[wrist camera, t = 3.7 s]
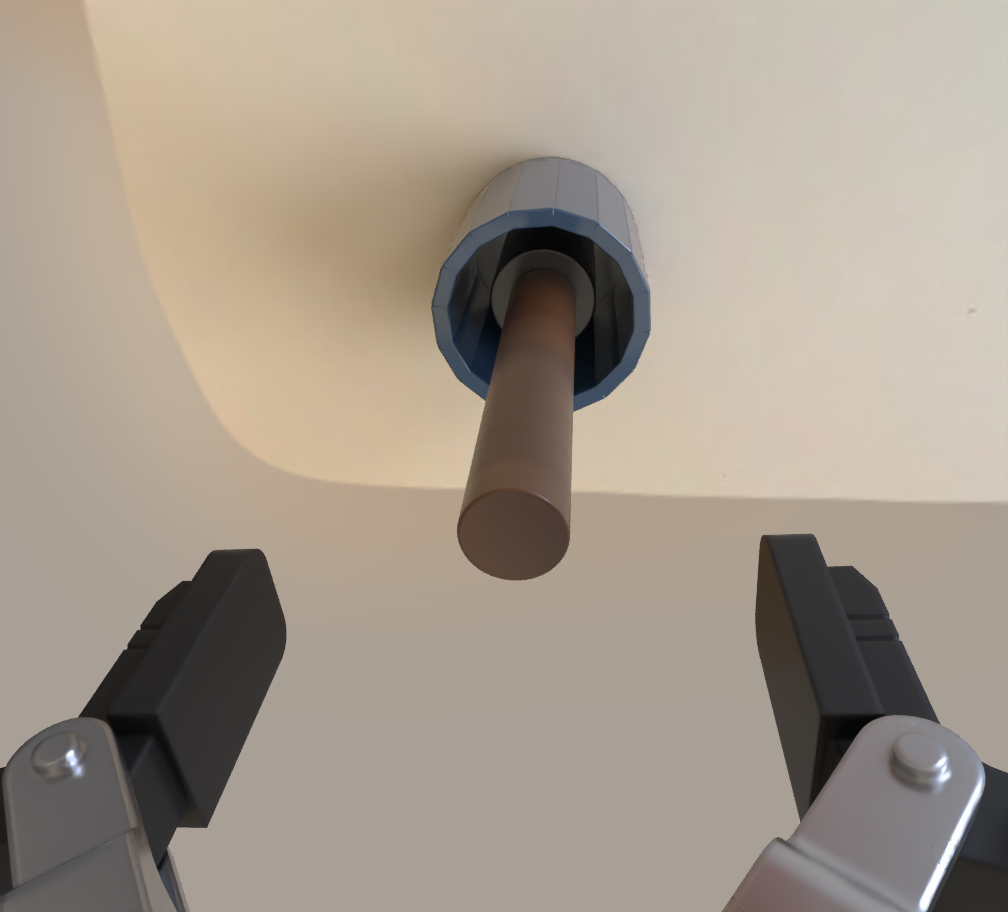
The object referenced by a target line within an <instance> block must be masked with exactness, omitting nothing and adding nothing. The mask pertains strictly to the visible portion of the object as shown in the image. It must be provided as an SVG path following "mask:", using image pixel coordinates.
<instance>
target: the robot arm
mask: <svg viewBox="0 0 1008 912" xmlns="http://www.w3.org/2000/svg"><path fill="white" fill-rule="evenodd" d="M755 623H756V637H757V645H758V651H759V655H760V659H761V663H762V667H763V671H764V675H765V680H766V683H767V688H768V691H769V696H770V700H771V704H772V708H773V712H774V716H775V720H776V724H777V728H778V732H779V736H780V741H781V744H782V749H783V752H784V757H785V761H786V765H787V769H788V773H789V776H790V781H791V785H792V789H793V793H794V797H795V801H796V806H797V810H798V814H799V818H800V824H799V826H798V827H797V829H796V830H795V832H794V833H793V835H792V836H791V837H790V838H789V839H788V840H787V841H785V840H783V839H782V838H779V837H777V838H775V839H774V840H772V841H771V842H770V843H769V844H768V845H767V846H766V847H765V849H764V850H763V851H762V853H761V854H760V855H759V857H758V859H757V860H756V861H755V863H754V864H753V866H752V867H751V869H750V870H749V872H748V873H747V875H746V876H745V878H744V879H743V881H742V882H741V884H740V885H739V887H738V888H737V890H736V891H735V893H734V894H733V896H732V897H731V899H730V900H729V902H728V903H727V905H726V906H725V908H724V909H723V911H722V912H1008V773H1006V772H1003V771H1001V770H998V769H996V768H993V767H991V766H989V765H987V764H985V763H983V762H981V761H980V758H979V757H978V755H977V754H976V752H975V751H974V750H973V749H972V748H971V746H970V745H969V744H968V743H967V742H966V741H965V740H963V739H962V738H961V737H960V736H959V735H957V734H956V733H954V732H953V731H951V730H950V729H948V728H946V727H944V726H942V725H941V724H940V723H939V721H938V719H937V717H936V715H935V712H934V710H933V708H932V706H931V704H930V702H929V700H928V697H927V695H926V693H925V691H924V689H923V686H922V684H921V682H920V680H919V678H918V676H917V673H916V671H915V669H914V667H913V665H912V662H911V660H910V658H909V656H908V654H907V652H906V650H905V647H904V645H903V643H902V641H899V634H898V632H897V630H896V628H895V626H894V624H893V621H892V620H891V619H890V618H889V613H888V610H887V608H886V607H885V604H884V602H883V600H882V597H881V595H880V593H879V591H878V589H877V588H876V587H875V586H874V585H873V584H872V583H871V582H870V581H868V580H867V579H866V578H865V577H864V576H863V575H862V574H860V573H859V572H858V571H857V570H856V569H855V568H854V567H853V566H835V567H827V565H826V563H825V560H824V557H823V555H822V553H821V550H820V547H819V545H818V542H817V540H816V538H815V536H814V535H813V534H788V535H786V534H785V535H763V536H762V537H761V542H760V550H759V565H758V581H757V597H756V612H755ZM285 645H286V623H285V618H284V615H283V611H282V608H281V605H280V602H279V598H278V595H277V592H276V589H275V585H274V582H273V579H272V576H271V573H270V569H269V566H268V563H267V560H266V557H265V555H264V553H263V552H262V551H261V550H260V549H233V550H214V551H212V552H211V553H210V554H209V555H208V556H207V558H206V559H205V561H204V563H203V564H202V565H201V567H200V568H199V570H198V572H197V573H196V575H195V576H194V578H193V579H192V581H182V582H181V583H180V584H178V585H177V586H176V587H174V588H173V589H172V590H171V591H169V592H168V593H167V594H166V595H165V596H163V597H162V598H161V599H160V600H158V601H157V602H156V604H155V605H154V606H153V608H152V609H151V611H150V612H149V614H148V615H147V617H146V618H145V620H144V621H143V623H142V624H141V629H140V630H137V631H136V633H135V634H134V636H133V637H132V639H131V640H130V642H129V643H128V648H127V650H123V652H122V654H121V655H120V656H119V658H118V660H117V661H116V662H115V664H114V665H113V667H112V668H111V670H110V671H109V673H108V674H107V675H106V677H105V678H104V680H103V681H102V683H101V684H100V686H99V687H98V689H97V690H96V692H95V693H94V695H93V697H92V698H91V699H90V701H89V702H88V704H87V705H86V707H85V708H84V709H83V711H82V712H81V714H80V715H79V717H78V718H73V719H69V720H65V721H62V722H59V723H57V724H54V725H52V726H50V727H48V728H46V729H44V730H42V731H41V732H39V733H37V734H36V735H34V736H33V737H32V738H30V739H29V740H28V741H26V742H25V743H24V744H23V745H22V746H21V747H20V748H19V749H18V750H17V751H16V752H15V753H14V755H13V756H12V757H11V759H10V760H9V762H8V763H7V766H6V767H3V768H0V912H190V911H189V908H188V904H187V901H186V898H185V894H184V891H183V888H182V885H181V881H180V878H179V875H178V871H177V868H176V865H175V861H174V859H173V856H172V853H171V851H170V850H169V847H168V845H169V843H170V841H171V839H172V837H173V834H174V832H175V830H176V828H177V827H189V828H207V826H208V824H209V822H210V819H211V817H212V815H213V813H214V811H215V808H216V806H217V804H218V802H219V799H220V797H221V795H222V793H223V790H224V788H225V786H226V783H227V781H228V779H229V777H230V775H231V772H232V770H233V768H234V766H235V763H236V761H237V759H238V757H239V754H240V752H241V749H242V747H243V745H244V743H245V741H246V739H247V736H248V734H249V731H250V729H251V727H252V725H253V722H254V720H255V718H256V716H257V714H258V711H259V709H260V707H261V705H262V702H263V700H264V698H265V696H266V693H267V691H268V689H269V686H270V684H271V682H272V680H273V678H274V675H275V673H276V671H277V669H278V666H279V664H280V662H281V660H282V657H283V654H284V650H285Z"/></svg>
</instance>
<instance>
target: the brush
mask: <svg viewBox="0 0 1008 912" xmlns="http://www.w3.org/2000/svg"><path fill="white" fill-rule="evenodd" d="M490 305H491V310H492V313H493V316H494V318H495V321H496V323H497V324H498V326H499V327H500V329H501V330H502V332H501V337H500V341H499V345H498V350H497V354H496V358H495V363H494V367H493V372H492V376H491V380H490V385H489V389H488V394H487V398H486V402H485V407H484V411H483V415H482V420H481V424H480V429H479V433H478V437H477V442H476V446H475V451H474V455H473V459H472V464H471V468H470V473H469V477H468V481H467V486H466V490H465V494H464V499H463V504H462V508H461V512H460V517H459V521H458V526H457V537H458V541H459V544H460V546H461V549H462V551H463V553H464V554H465V556H466V557H467V558H468V560H469V561H470V562H471V563H472V564H473V565H474V566H476V567H477V568H478V569H480V570H481V571H483V572H485V573H487V574H489V575H491V576H494V577H497V578H501V579H506V580H527V579H532V578H535V577H538V576H541V575H543V574H545V573H547V572H549V571H550V570H551V569H553V568H554V567H555V566H556V565H557V564H558V563H559V562H560V561H561V560H562V558H563V557H564V555H565V553H566V551H567V549H568V546H569V540H570V509H571V508H570V507H571V472H572V434H573V397H574V359H575V339H576V338H577V337H579V336H580V335H581V334H582V333H583V332H584V330H585V329H586V328H587V327H588V325H589V323H590V322H591V319H592V317H593V315H594V311H595V306H596V277H595V249H594V242H592V241H591V240H590V239H589V238H587V237H584V236H581V235H577V234H574V233H571V232H568V231H565V230H562V229H559V228H556V227H553V226H548V227H536V228H523V229H514V230H512V231H510V232H508V233H507V236H506V238H505V241H504V245H503V248H502V252H501V255H500V259H499V262H498V265H497V269H496V272H495V276H494V279H493V283H492V286H491V291H490Z"/></svg>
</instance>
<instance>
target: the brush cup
mask: <svg viewBox="0 0 1008 912" xmlns="http://www.w3.org/2000/svg"><path fill="white" fill-rule="evenodd" d="M548 226H553V227H556V228H559V229H562V230H565V231H568V232H571V233H574V234H577V235H581V236H584V237H587V238H589V239H590V240H591V241H592V242H594V249H595V277H596V306H595V311H594V315H593V317H592V319H591V322H590V323H589V325H588V327H587V328H586V329H585V330H584V332H583V333H582V334H581V335H580V336H579V337H577V338H576V339H575V359H574V397H573V412H574V411H576V410H579V409H581V408H583V407H586V406H588V405H590V404H593V403H595V402H597V401H600V400H602V399H604V398H605V397H607V396H608V395H609V394H610V393H611V392H612V391H613V390H614V389H615V388H616V387H617V386H618V385H619V384H620V383H621V382H623V381H624V380H625V379H626V378H627V377H628V376H629V375H630V374H631V373H632V372H633V370H634V369H635V368H636V365H637V363H638V361H639V358H640V356H641V354H642V351H643V349H644V347H645V344H646V342H647V340H648V337H649V335H650V330H651V315H650V289H649V284H648V279H647V274H646V269H645V264H644V259H643V254H642V249H641V244H640V239H639V234H638V229H637V225H636V223H635V221H634V219H633V216H632V213H631V210H630V208H629V206H628V204H627V202H626V200H625V199H624V197H623V196H622V194H621V193H620V192H619V190H618V189H617V188H616V187H615V186H614V185H613V184H612V183H611V181H610V180H608V179H607V178H606V177H605V176H603V175H602V174H601V173H600V172H598V171H596V170H594V169H593V168H591V167H589V166H587V165H584V164H582V163H579V162H576V161H573V160H569V159H563V158H538V159H532V160H528V161H525V162H522V163H519V164H516V165H514V166H512V167H510V168H508V169H506V170H505V171H503V172H502V173H500V174H498V175H497V176H496V177H495V178H494V179H492V180H491V181H490V182H489V183H488V184H487V185H486V186H485V188H484V189H483V190H482V191H481V192H480V194H479V195H478V197H477V198H476V200H475V201H474V202H473V204H472V205H471V206H470V208H469V210H468V212H467V214H466V216H465V218H464V220H463V222H462V225H461V227H460V229H459V231H458V233H457V235H456V237H455V239H454V241H453V243H452V245H451V248H450V250H449V252H448V254H447V256H446V258H445V260H444V262H443V264H442V266H441V270H440V273H439V277H438V281H437V284H436V288H435V292H434V296H433V299H432V303H431V304H432V306H431V309H432V316H433V322H434V329H435V335H436V342H437V345H438V348H439V349H440V351H441V353H442V354H443V356H444V358H445V359H446V361H447V363H448V364H449V366H450V368H451V369H452V371H453V372H454V374H455V376H456V377H457V379H459V381H460V382H462V383H463V384H464V385H466V386H467V387H468V388H470V389H471V390H472V391H473V392H475V393H476V394H477V395H479V396H480V397H481V398H483V399H484V400H485V401H486V398H487V394H488V389H489V385H490V380H491V376H492V372H493V367H494V363H495V358H496V354H497V350H498V345H499V341H500V337H501V332H502V330H501V329H500V327H499V326H498V324H497V323H496V321H495V318H494V316H493V313H492V310H491V305H490V291H491V286H492V283H493V279H494V276H495V272H496V269H497V265H498V262H499V259H500V255H501V252H502V248H503V245H504V241H505V238H506V236H507V233H508V232H510V231H512V230H514V229H523V228H536V227H548Z"/></svg>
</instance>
